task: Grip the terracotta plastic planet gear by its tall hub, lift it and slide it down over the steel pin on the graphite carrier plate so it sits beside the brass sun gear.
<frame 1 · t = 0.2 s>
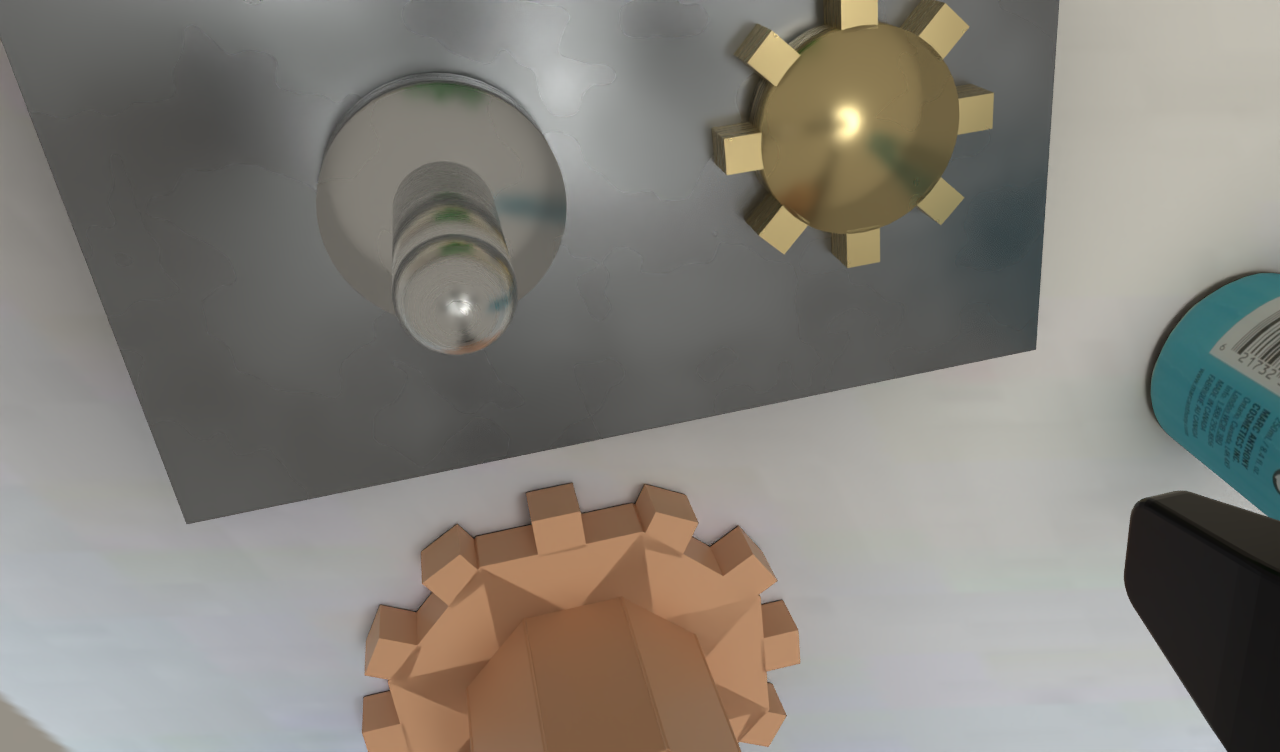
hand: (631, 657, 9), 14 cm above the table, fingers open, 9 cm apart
carrier plate: (589, 152, 21), on the table
planet gear: (581, 663, 27), on the table
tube: (1232, 355, 27), on the table
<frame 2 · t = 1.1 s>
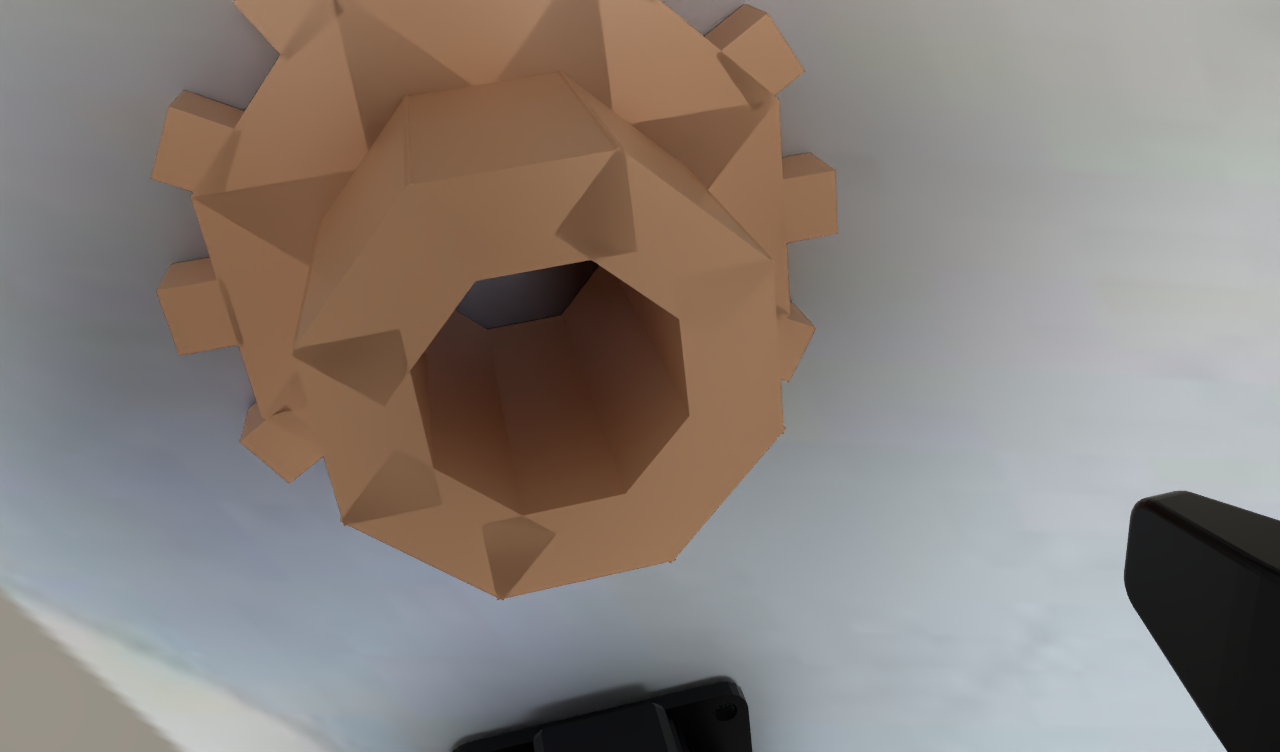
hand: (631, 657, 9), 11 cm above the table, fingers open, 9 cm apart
planet gear: (508, 237, 18), on the table
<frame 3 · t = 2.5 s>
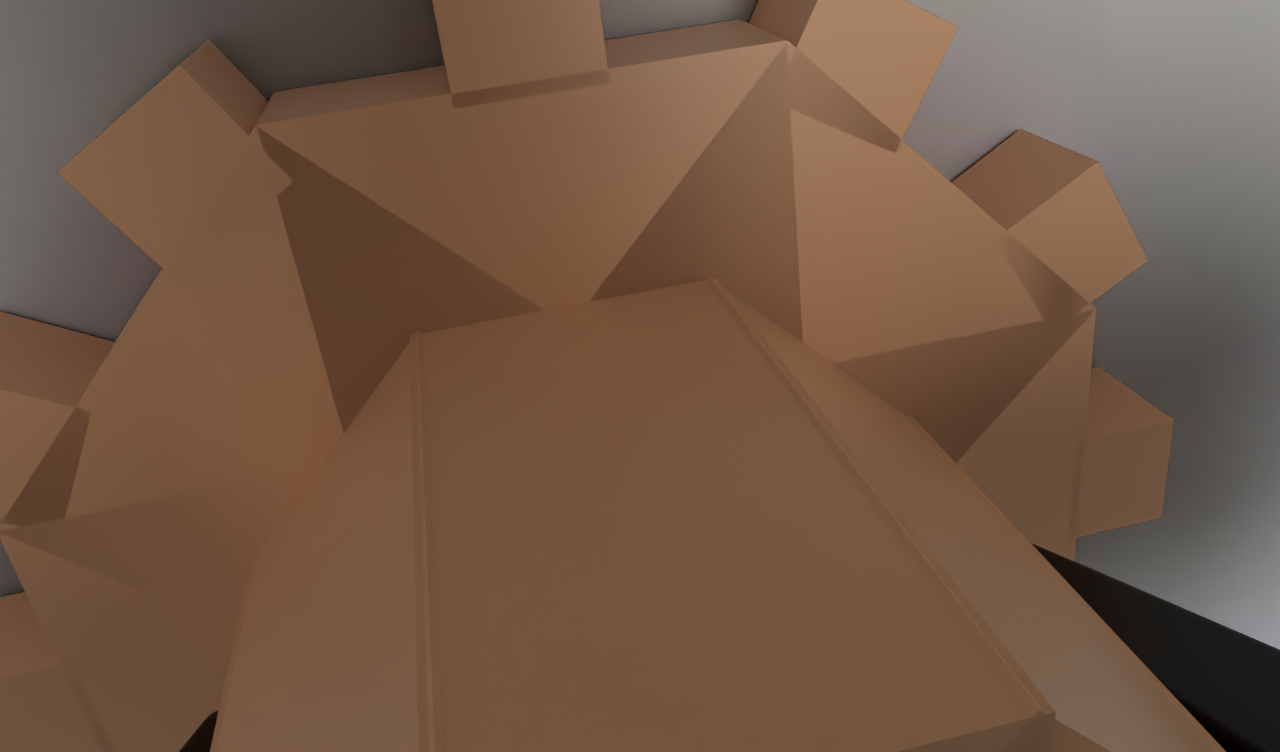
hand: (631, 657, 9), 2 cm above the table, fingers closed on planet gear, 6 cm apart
planet gear: (591, 521, 10), on the table, touching gripper
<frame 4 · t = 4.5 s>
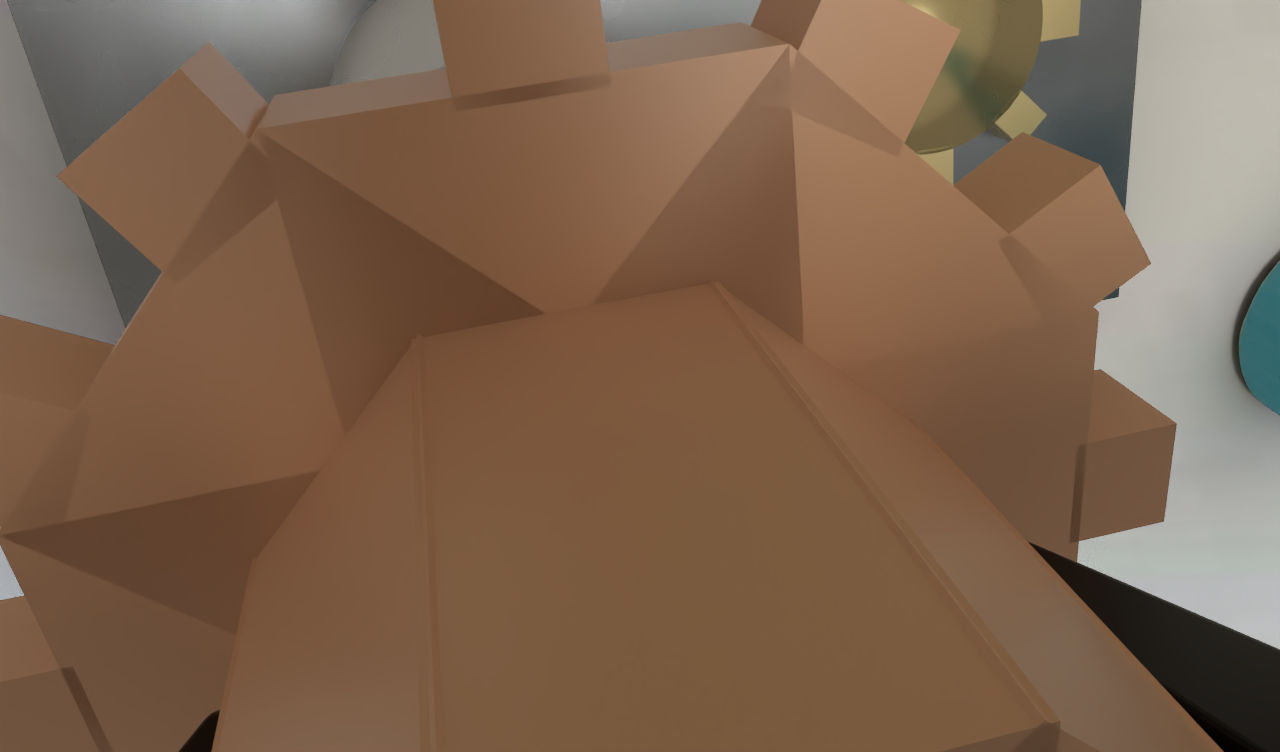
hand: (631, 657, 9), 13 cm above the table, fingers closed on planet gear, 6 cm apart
carrier plate: (629, 68, 19), on the table
planet gear: (592, 524, 10), point 11 cm above the table, touching gripper
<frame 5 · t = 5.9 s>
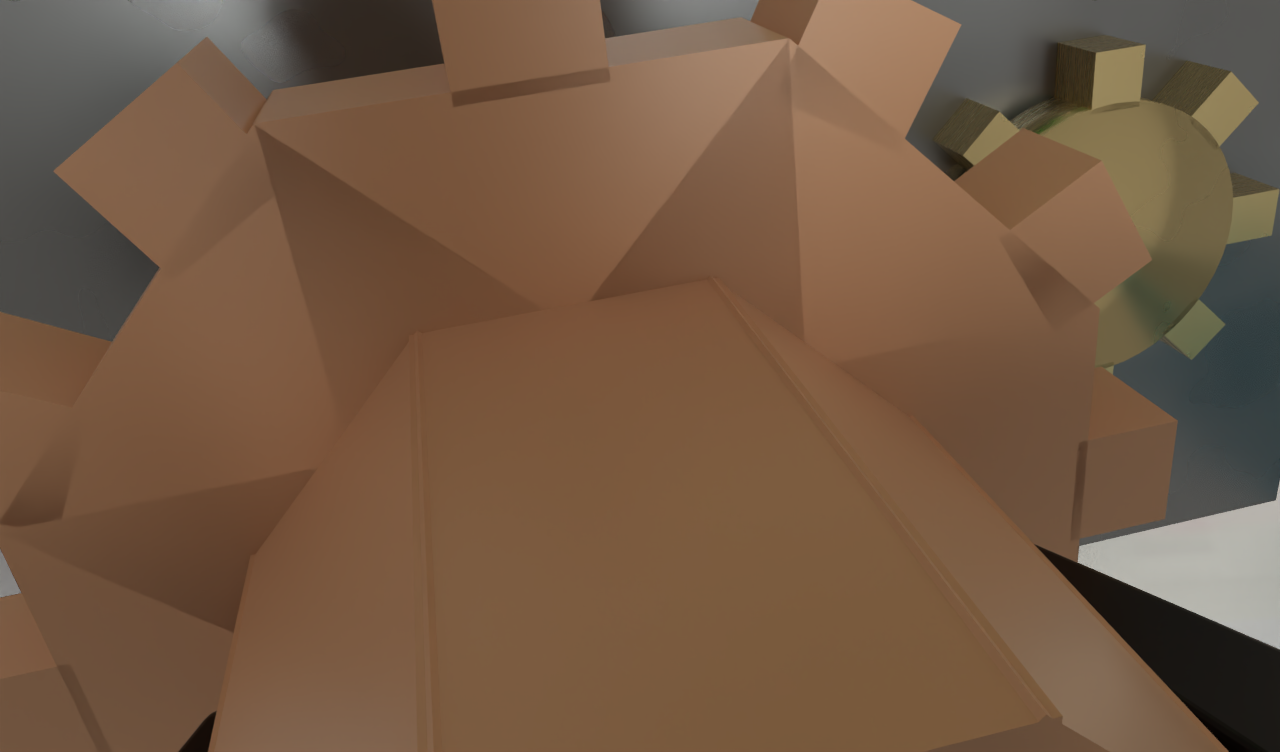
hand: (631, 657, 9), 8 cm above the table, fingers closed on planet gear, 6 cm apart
carrier plate: (723, 264, 16), on the table
planet gear: (591, 522, 10), point 6 cm above the table, touching gripper
when the fingers open (5 cm above the table, at t = 6.8 s): planet gear drops 1 cm, resting on carrier plate.
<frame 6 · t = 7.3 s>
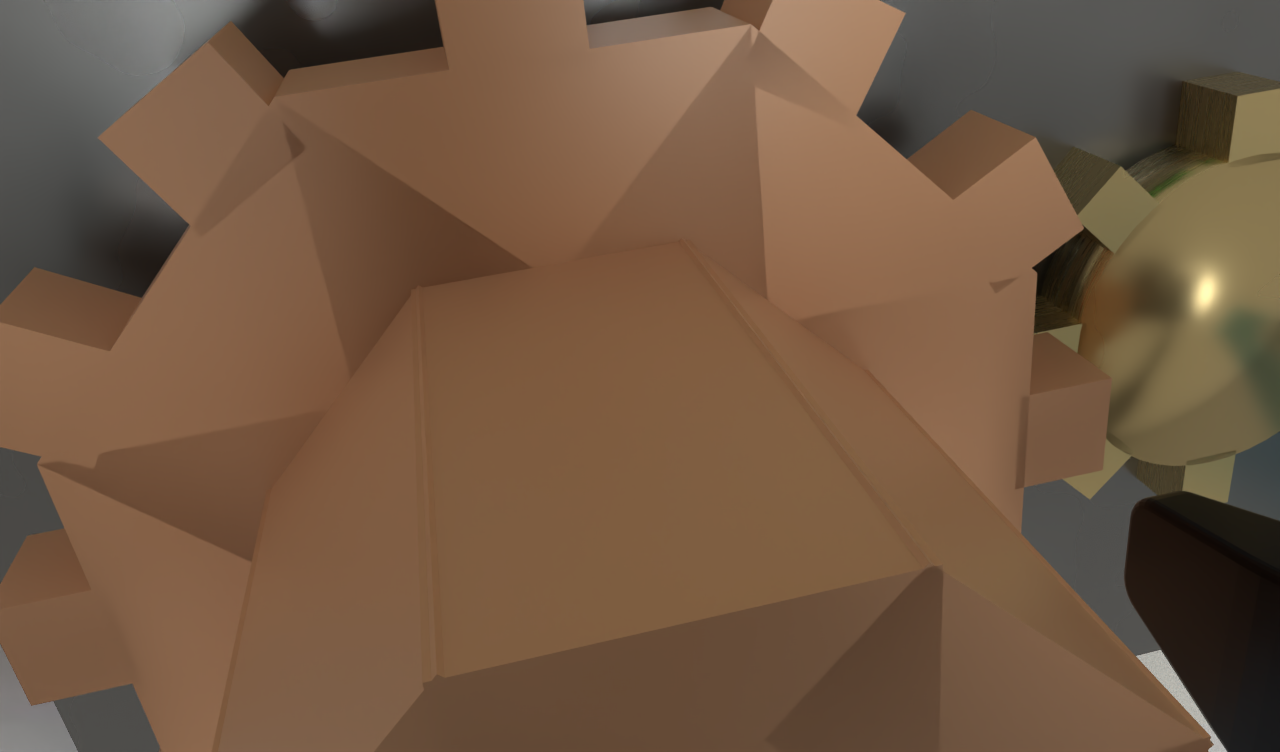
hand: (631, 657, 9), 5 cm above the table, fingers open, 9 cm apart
carrier plate: (779, 336, 14), on the table
planet gear: (577, 471, 11), point 2 cm above the table, touching carrier plate
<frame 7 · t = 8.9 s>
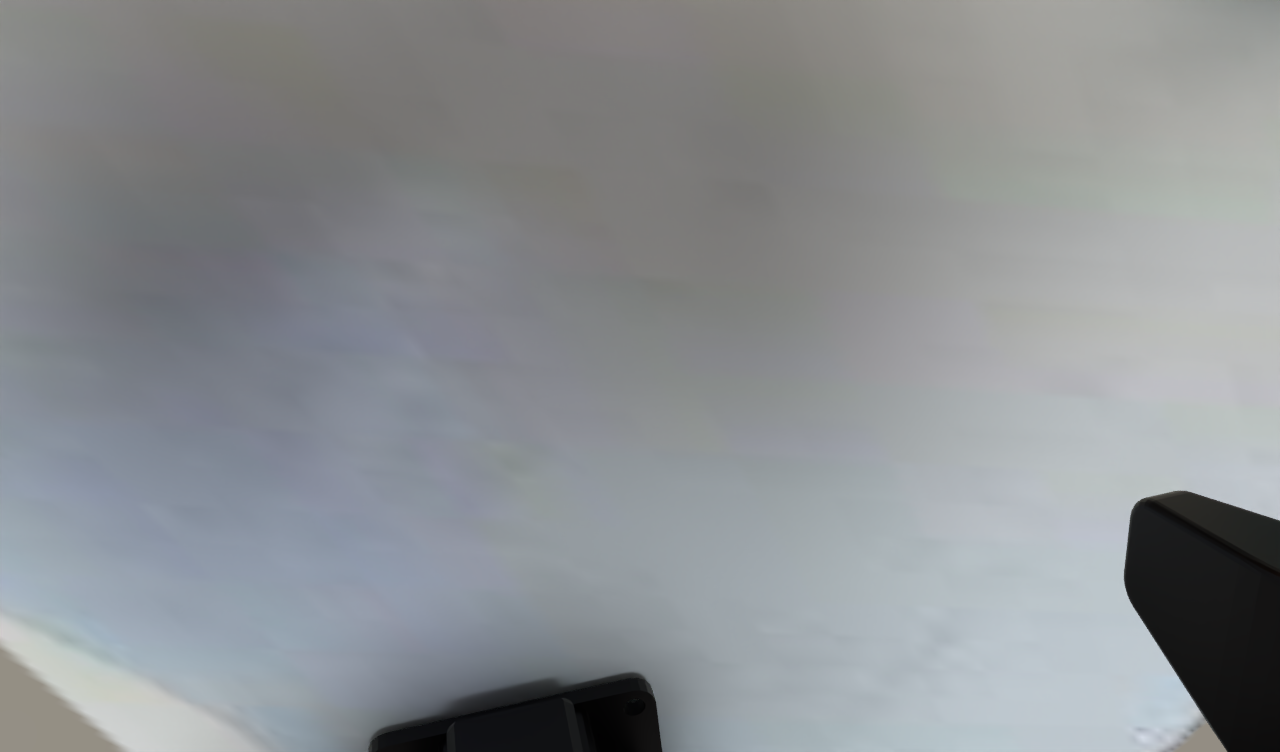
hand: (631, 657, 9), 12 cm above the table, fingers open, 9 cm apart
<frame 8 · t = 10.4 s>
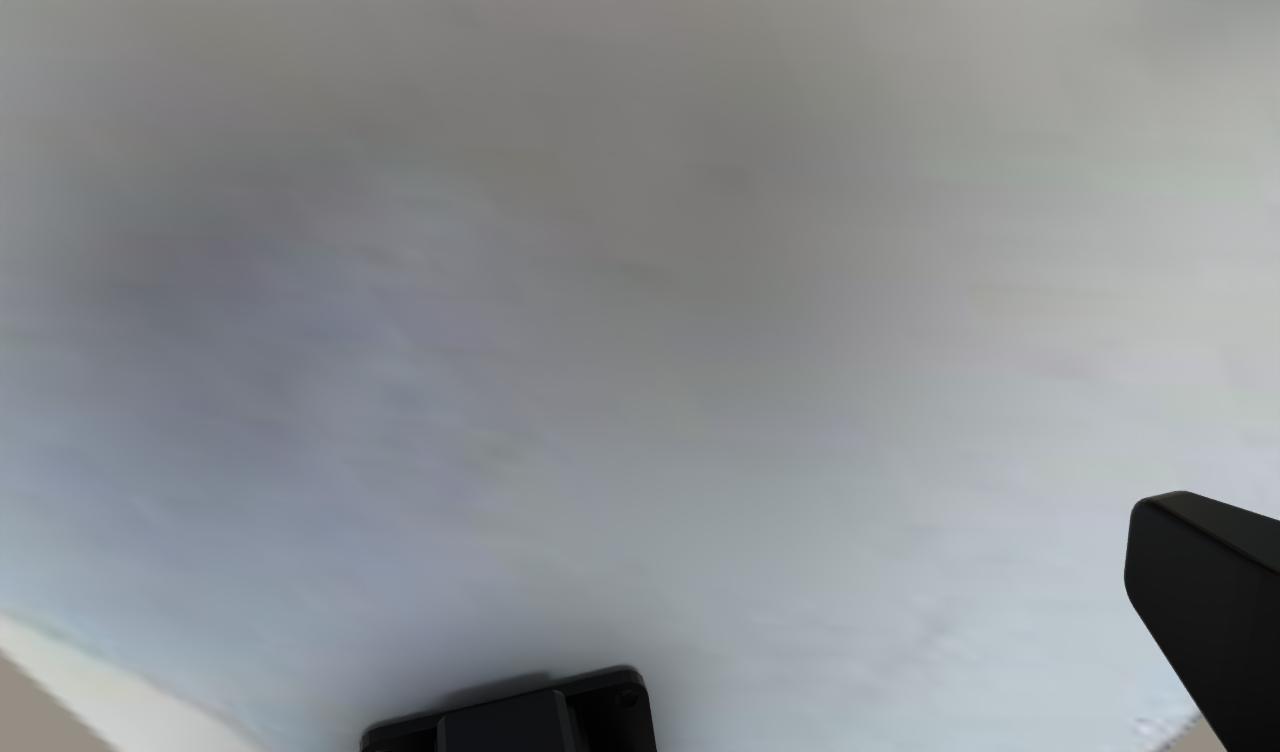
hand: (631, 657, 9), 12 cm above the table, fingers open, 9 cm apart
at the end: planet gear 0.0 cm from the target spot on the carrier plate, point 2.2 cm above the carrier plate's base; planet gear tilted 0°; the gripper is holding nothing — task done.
